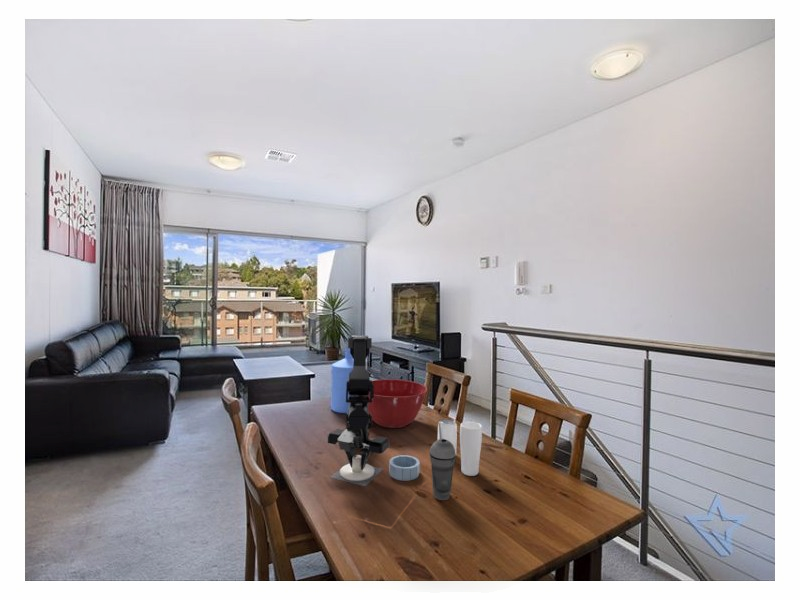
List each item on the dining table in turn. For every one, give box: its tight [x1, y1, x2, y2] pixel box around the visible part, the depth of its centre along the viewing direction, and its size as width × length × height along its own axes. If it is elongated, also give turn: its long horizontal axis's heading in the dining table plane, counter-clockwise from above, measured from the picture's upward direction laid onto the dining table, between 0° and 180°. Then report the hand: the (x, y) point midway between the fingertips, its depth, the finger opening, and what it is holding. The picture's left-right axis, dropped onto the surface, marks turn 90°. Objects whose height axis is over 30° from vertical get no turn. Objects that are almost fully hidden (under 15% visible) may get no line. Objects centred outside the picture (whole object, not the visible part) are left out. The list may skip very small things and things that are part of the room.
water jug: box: [330, 348, 354, 414], centre depth 183 cm, size 16×16×28 cm
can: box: [437, 417, 458, 455], centre depth 133 cm, size 6×6×12 cm
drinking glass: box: [459, 421, 483, 477], centre depth 121 cm, size 7×7×15 cm
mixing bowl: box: [368, 378, 428, 429], centre depth 165 cm, size 28×28×15 cm
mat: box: [329, 462, 384, 487], centre depth 119 cm, size 12×12×1 cm
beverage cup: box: [429, 422, 457, 501], centre depth 107 cm, size 7×7×20 cm
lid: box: [339, 454, 374, 481], centre depth 119 cm, size 10×10×5 cm
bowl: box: [388, 454, 421, 482], centre depth 119 cm, size 9×9×4 cm
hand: (357, 468), depth 119 cm, fingers closed on lid, 3 cm apart
